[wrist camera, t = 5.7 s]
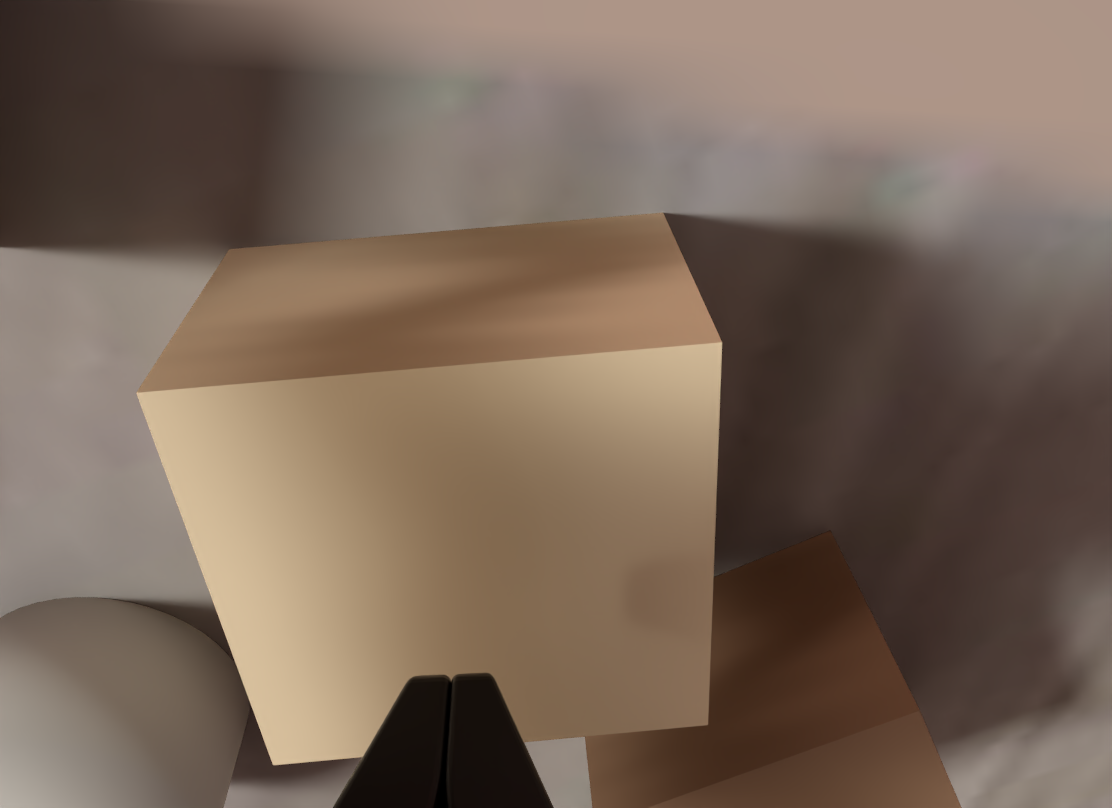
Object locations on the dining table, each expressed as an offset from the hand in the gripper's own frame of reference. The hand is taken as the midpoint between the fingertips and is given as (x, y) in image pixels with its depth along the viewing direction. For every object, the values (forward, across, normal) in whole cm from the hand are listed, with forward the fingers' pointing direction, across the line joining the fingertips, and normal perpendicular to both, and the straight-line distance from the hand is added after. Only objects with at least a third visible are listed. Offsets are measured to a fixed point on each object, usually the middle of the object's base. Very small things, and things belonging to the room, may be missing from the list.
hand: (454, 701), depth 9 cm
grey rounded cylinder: (+6, +7, +6) cm, 11 cm away
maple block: (+6, 0, 0) cm, 6 cm away
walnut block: (+6, -5, +6) cm, 10 cm away
